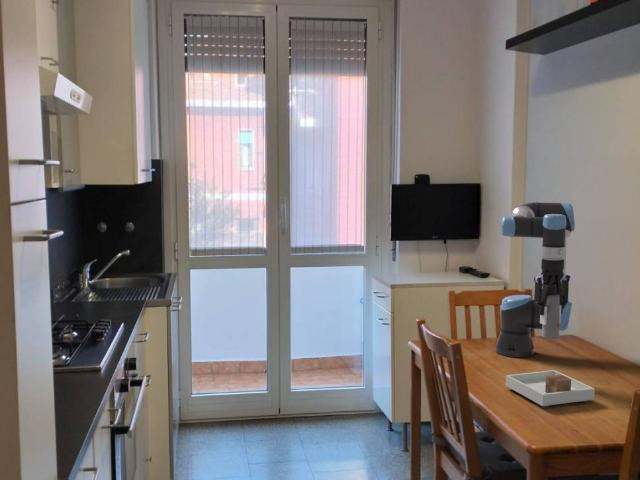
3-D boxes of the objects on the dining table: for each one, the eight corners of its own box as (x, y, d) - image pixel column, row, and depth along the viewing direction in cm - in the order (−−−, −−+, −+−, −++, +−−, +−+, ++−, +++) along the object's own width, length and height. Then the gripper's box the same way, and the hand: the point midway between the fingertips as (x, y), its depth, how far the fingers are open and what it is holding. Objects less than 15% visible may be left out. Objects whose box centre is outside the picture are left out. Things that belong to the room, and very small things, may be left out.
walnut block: (545, 392, 213) (545, 375, 212) (559, 390, 214) (560, 374, 214) (556, 397, 207) (556, 381, 207) (570, 396, 209) (571, 379, 208)
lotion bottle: (559, 334, 234) (559, 280, 231) (559, 339, 228) (559, 283, 225) (542, 334, 235) (542, 279, 233) (542, 338, 230) (542, 283, 227)
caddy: (505, 388, 222) (505, 375, 221) (553, 383, 228) (554, 370, 227) (542, 409, 203) (542, 394, 202) (594, 403, 209) (594, 388, 208)
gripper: (537, 261, 222) (534, 328, 225) (581, 258, 227) (578, 323, 230) (524, 258, 229) (521, 322, 232) (567, 255, 234) (564, 318, 237)
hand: (550, 323), depth 231 cm, fingers closed on lotion bottle, 5 cm apart
